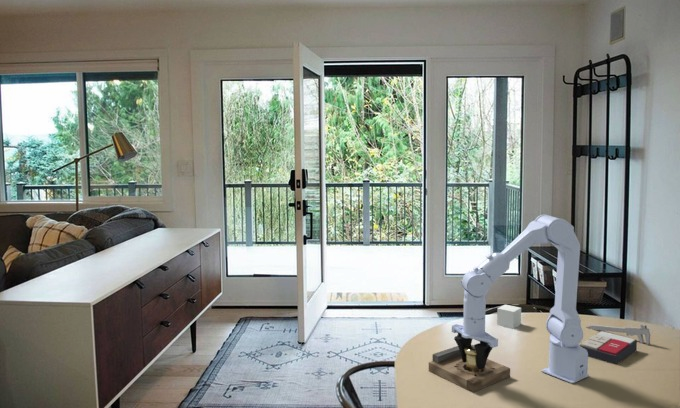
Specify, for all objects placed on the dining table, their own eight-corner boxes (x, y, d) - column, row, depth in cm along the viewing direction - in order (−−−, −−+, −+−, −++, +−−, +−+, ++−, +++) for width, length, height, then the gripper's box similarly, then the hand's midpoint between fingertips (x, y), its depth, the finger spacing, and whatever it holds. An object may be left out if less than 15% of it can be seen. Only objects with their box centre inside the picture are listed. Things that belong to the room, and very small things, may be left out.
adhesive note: (513, 328, 182) (513, 311, 182) (497, 325, 186) (497, 308, 186) (520, 324, 187) (521, 307, 186) (504, 320, 191) (505, 304, 190)
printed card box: (578, 343, 160) (600, 328, 169) (578, 356, 160) (600, 341, 170) (616, 353, 152) (637, 338, 161) (616, 367, 152) (637, 351, 162)
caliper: (650, 345, 167) (651, 326, 166) (648, 346, 166) (649, 326, 165) (587, 327, 183) (588, 309, 182) (585, 328, 182) (586, 310, 182)
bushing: (486, 373, 145) (487, 349, 144) (474, 379, 142) (474, 353, 141) (472, 367, 149) (473, 343, 148) (460, 372, 146) (460, 347, 145)
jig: (510, 377, 145) (510, 361, 144) (472, 392, 136) (472, 375, 136) (465, 358, 158) (465, 343, 157) (428, 370, 149) (428, 355, 149)
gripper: (444, 312, 147) (443, 359, 149) (485, 326, 135) (484, 377, 137) (461, 307, 151) (461, 353, 153) (503, 321, 139) (502, 370, 141)
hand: (473, 364), depth 145 cm, fingers closed on bushing, 5 cm apart
